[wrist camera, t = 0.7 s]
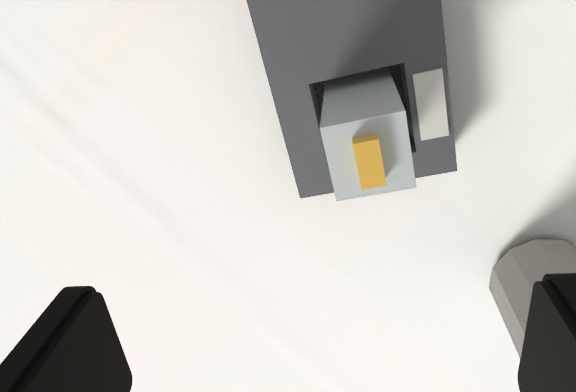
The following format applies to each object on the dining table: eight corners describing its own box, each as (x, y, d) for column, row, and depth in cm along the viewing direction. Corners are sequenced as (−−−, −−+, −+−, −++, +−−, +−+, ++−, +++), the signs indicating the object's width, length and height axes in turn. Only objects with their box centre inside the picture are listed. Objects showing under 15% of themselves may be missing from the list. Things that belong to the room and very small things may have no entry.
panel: (408, -223, 22) (417, -248, 19) (447, 152, 31) (458, 172, 28) (216, -155, 24) (199, -169, 21) (303, 178, 33) (300, 199, 30)
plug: (387, 66, 29) (407, 116, 20) (397, 126, 30) (418, 195, 22) (325, 81, 29) (318, 134, 21) (337, 138, 31) (336, 208, 23)
